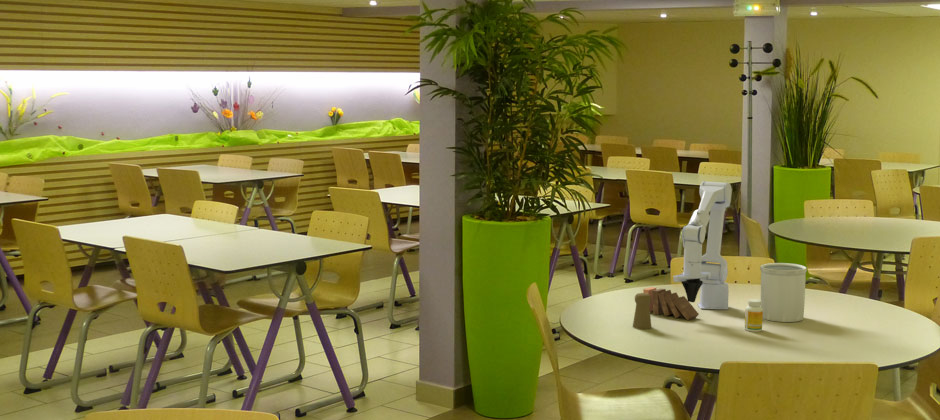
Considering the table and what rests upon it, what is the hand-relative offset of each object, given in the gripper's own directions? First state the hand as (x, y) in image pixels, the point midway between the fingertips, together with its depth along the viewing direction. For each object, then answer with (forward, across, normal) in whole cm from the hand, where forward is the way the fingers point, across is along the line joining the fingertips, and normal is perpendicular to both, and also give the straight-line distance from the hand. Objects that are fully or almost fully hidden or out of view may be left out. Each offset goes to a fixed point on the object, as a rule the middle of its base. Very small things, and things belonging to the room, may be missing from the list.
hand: (691, 301), depth 329 cm
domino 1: (+6, +5, -16) cm, 17 cm away
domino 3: (+6, +2, -7) cm, 9 cm away
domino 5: (+5, 0, +1) cm, 5 cm away
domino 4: (+5, +1, -3) cm, 6 cm away
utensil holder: (+6, -28, +13) cm, 32 cm away
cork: (+6, +21, +1) cm, 22 cm away
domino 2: (+6, +4, -12) cm, 13 cm away
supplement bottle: (+6, -8, +21) cm, 23 cm away
